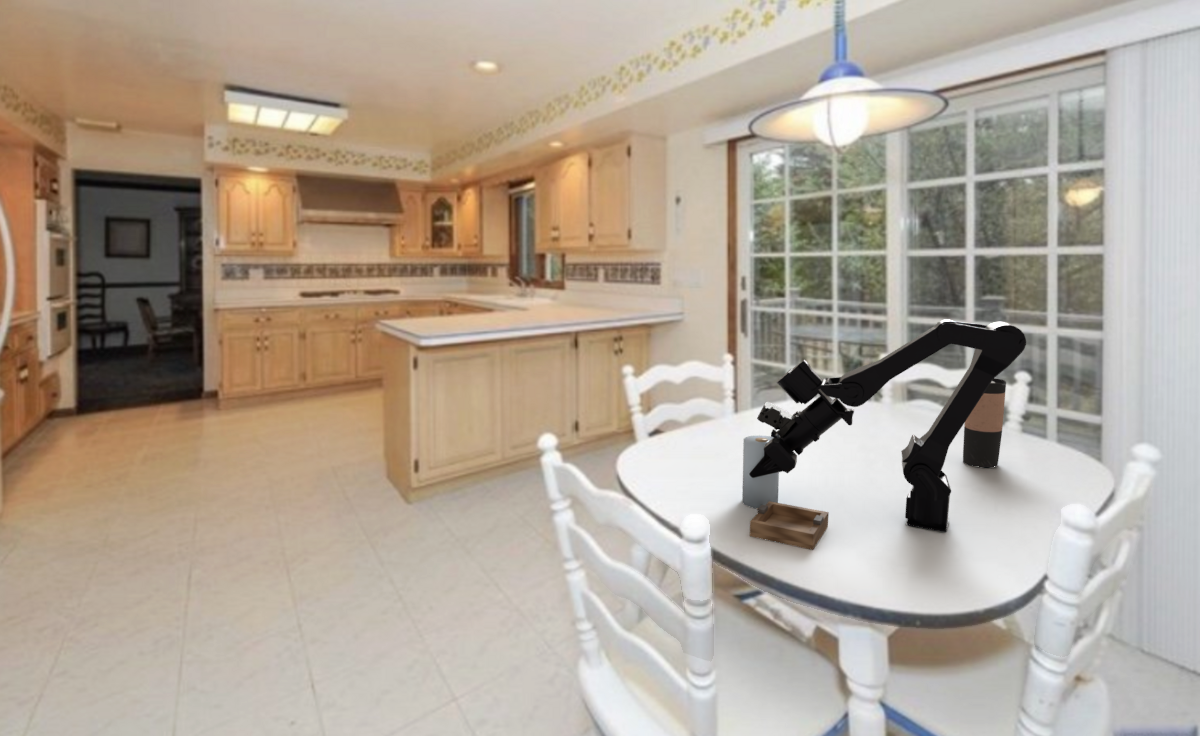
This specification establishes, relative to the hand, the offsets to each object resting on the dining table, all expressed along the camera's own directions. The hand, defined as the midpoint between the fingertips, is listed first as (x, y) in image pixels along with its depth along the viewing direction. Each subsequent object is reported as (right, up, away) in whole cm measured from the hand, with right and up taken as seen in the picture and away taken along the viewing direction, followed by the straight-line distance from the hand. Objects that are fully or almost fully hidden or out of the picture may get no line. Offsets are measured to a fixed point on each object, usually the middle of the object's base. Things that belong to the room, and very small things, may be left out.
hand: (753, 470), depth 130 cm
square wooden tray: (+3, -9, -13) cm, 16 cm away
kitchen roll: (+1, -7, +1) cm, 7 cm away
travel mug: (+59, -2, +22) cm, 63 cm away
